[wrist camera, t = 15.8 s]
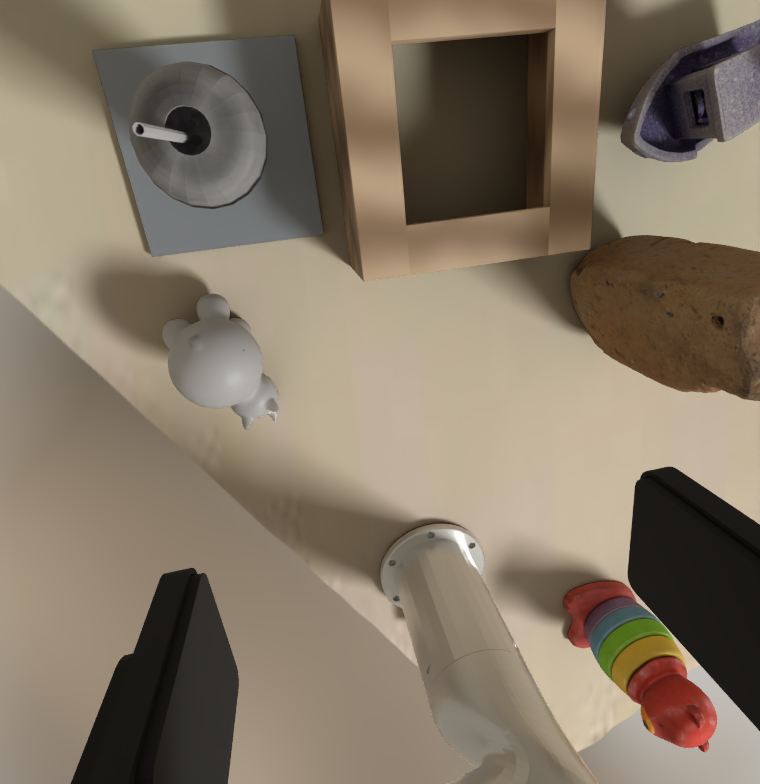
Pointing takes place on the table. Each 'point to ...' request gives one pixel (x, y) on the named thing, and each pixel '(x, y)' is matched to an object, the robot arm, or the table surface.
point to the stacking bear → (641, 662)
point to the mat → (285, 146)
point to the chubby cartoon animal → (219, 362)
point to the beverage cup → (198, 134)
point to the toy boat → (697, 97)
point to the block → (675, 311)
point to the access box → (544, 130)
